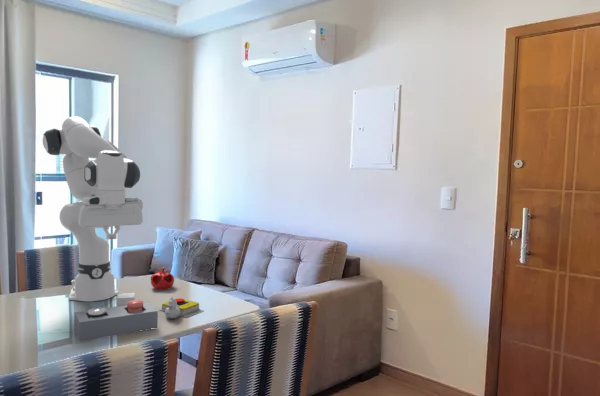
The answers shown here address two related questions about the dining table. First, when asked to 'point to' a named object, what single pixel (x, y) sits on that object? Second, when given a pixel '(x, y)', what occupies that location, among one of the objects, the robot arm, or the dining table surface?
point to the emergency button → (185, 307)
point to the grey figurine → (172, 309)
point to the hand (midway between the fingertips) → (111, 238)
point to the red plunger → (134, 305)
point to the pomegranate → (162, 280)
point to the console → (114, 322)
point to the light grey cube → (125, 298)
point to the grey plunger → (96, 312)
